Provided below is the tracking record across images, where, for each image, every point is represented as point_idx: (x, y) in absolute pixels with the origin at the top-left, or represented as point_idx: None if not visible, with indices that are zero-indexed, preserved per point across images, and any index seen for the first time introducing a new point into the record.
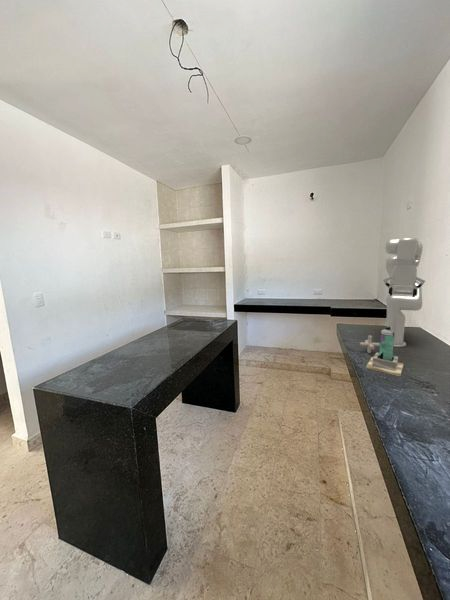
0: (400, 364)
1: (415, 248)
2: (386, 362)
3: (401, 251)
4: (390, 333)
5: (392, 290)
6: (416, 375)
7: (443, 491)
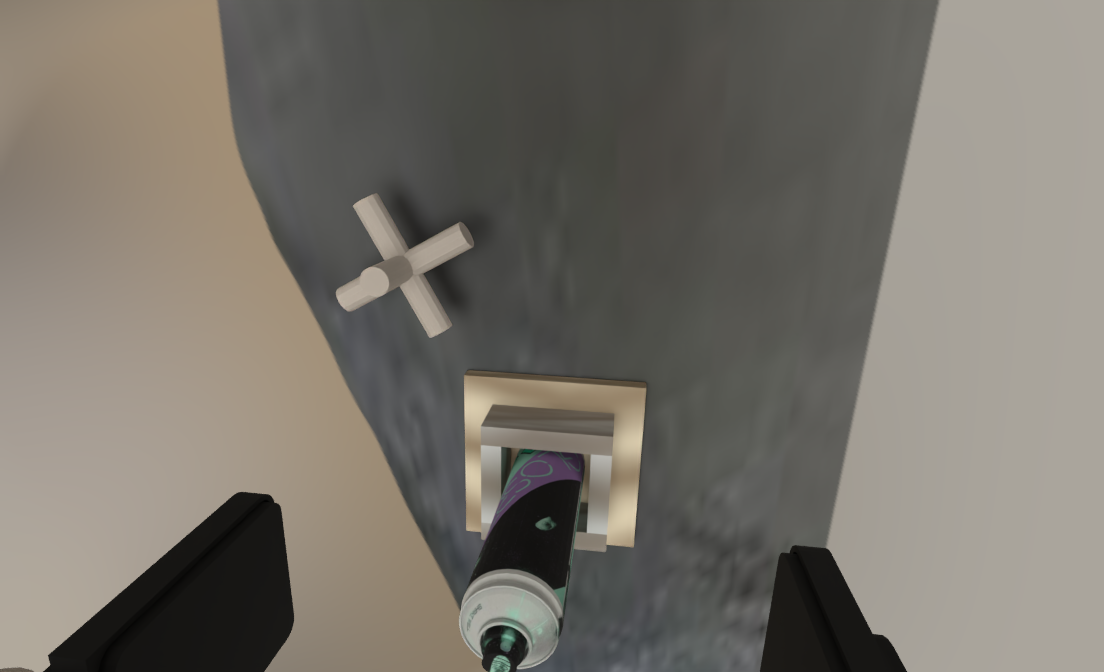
0: (629, 412)
1: None
2: None
3: None
4: (535, 662)
5: (190, 600)
6: (710, 483)
7: None
